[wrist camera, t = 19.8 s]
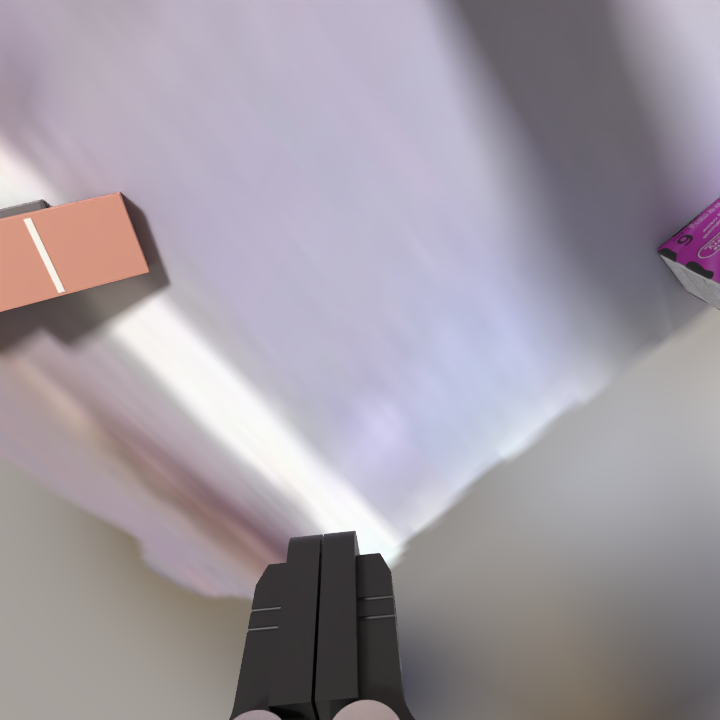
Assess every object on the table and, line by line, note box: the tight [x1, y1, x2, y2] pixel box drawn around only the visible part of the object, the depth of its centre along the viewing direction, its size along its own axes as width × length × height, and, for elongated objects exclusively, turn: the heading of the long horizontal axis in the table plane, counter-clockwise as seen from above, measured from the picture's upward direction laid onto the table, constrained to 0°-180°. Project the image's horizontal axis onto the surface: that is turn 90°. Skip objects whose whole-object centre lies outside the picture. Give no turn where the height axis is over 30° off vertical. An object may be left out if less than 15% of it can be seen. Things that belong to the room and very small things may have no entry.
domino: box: [0, 192, 149, 312], centre depth 32 cm, size 2×5×11 cm
